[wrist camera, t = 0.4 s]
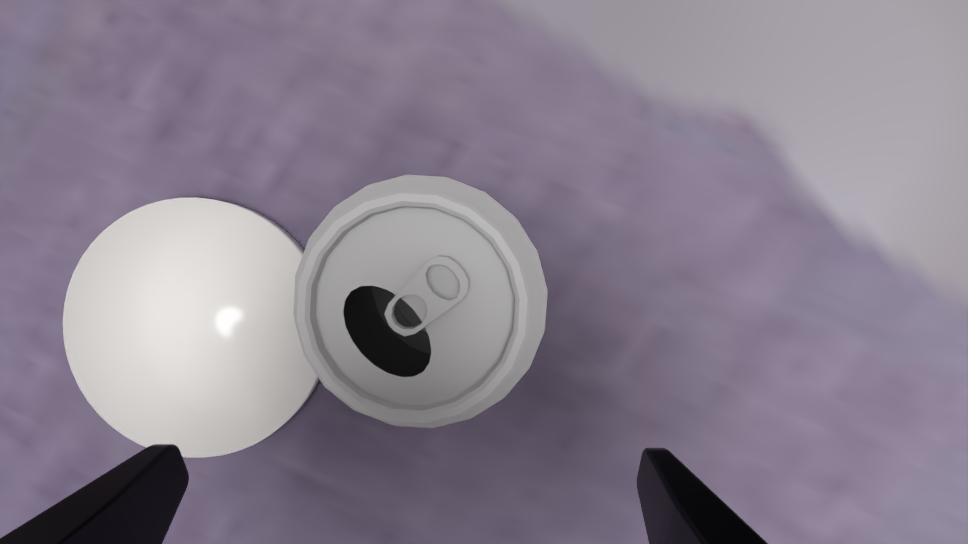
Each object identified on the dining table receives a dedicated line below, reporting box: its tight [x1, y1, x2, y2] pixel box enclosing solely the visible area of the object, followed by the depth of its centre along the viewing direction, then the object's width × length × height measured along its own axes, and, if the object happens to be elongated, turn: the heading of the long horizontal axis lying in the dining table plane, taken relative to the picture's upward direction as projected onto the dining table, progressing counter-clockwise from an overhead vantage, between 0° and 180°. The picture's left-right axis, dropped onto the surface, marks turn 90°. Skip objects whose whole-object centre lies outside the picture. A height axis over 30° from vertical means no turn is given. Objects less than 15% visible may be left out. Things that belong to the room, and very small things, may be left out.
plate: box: [63, 198, 320, 457], centre depth 23 cm, size 13×13×1 cm
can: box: [293, 175, 548, 428], centre depth 18 cm, size 8×8×12 cm
